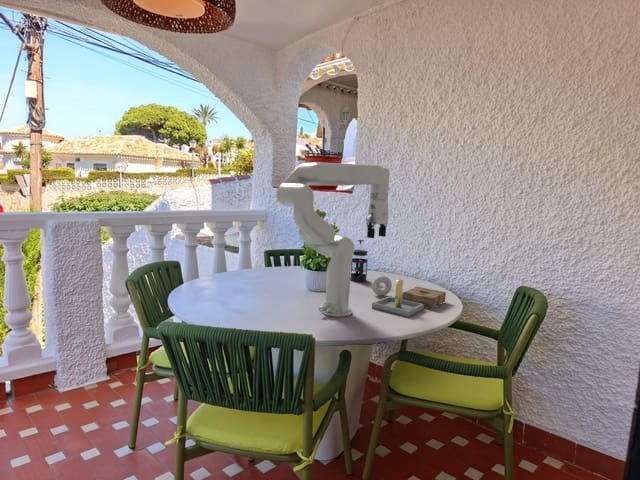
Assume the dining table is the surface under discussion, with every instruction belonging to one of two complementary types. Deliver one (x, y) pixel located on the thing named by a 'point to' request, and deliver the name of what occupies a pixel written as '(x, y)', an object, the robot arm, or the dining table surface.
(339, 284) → the robot arm
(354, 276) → the french press
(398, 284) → the pin
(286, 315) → the dining table surface
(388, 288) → the donut
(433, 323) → the dining table surface
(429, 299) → the pin block
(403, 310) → the tray
